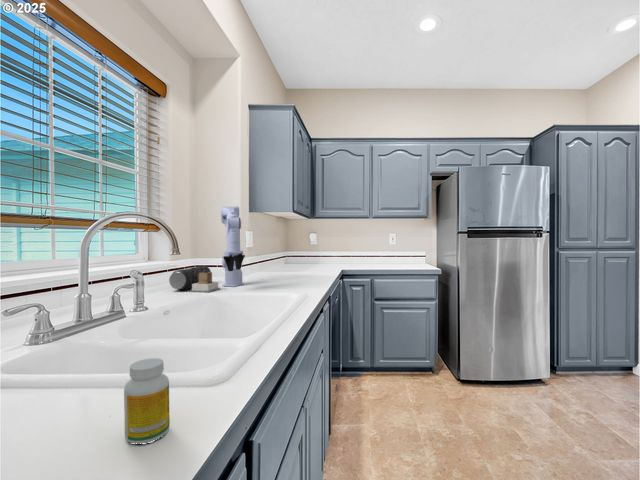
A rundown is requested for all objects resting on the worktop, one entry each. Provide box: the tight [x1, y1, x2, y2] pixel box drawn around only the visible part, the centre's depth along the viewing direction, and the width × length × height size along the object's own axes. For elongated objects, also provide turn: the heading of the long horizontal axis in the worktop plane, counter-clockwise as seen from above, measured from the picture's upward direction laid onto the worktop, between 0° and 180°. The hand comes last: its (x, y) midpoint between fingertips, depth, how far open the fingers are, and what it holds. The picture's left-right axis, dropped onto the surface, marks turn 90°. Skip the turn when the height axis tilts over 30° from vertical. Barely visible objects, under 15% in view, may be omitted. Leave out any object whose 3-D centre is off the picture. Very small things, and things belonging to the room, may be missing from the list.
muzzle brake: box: [168, 265, 212, 291], centre depth 174 cm, size 10×28×10 cm, turn 174°
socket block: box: [189, 281, 221, 293], centre depth 163 cm, size 10×10×4 cm
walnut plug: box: [199, 270, 213, 284], centre depth 163 cm, size 4×4×9 cm
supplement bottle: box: [123, 357, 171, 444], centre depth 45 cm, size 5×5×10 cm
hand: (234, 270), depth 165 cm, fingers open, 7 cm apart
